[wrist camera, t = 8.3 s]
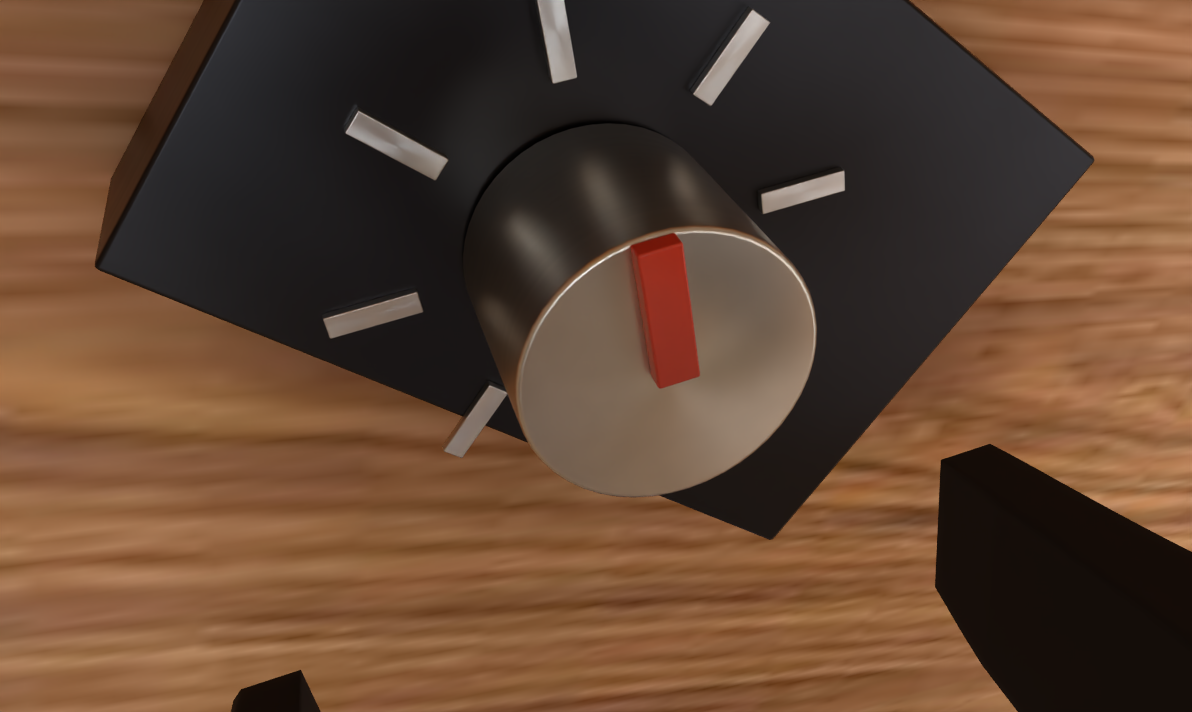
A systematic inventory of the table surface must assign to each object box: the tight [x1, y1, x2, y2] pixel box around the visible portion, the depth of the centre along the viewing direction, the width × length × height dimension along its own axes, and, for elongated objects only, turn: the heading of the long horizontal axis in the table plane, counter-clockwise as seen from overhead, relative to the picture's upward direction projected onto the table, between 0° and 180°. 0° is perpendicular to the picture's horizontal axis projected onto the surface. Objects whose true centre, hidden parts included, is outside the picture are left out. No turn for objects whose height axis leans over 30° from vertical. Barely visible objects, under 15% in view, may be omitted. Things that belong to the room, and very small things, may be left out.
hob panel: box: [95, 0, 1094, 540], centre depth 18 cm, size 13×10×3 cm
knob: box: [463, 123, 817, 497], centre depth 15 cm, size 4×4×4 cm
